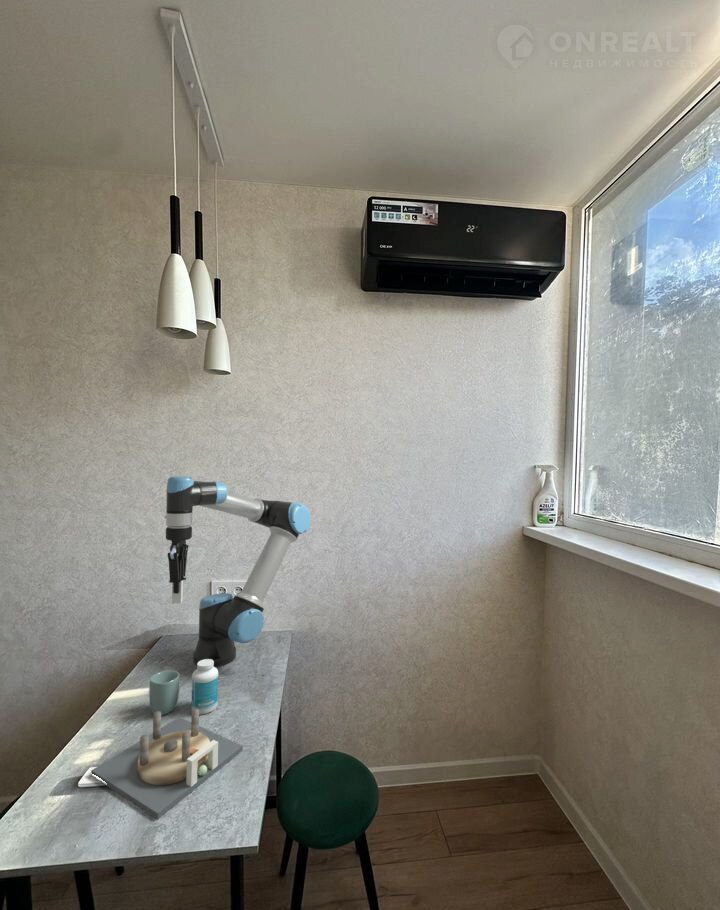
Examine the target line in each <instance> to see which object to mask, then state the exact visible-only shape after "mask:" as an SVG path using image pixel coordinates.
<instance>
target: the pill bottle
mask: <svg viewBox="0 0 720 910" xmlns="http://www.w3.org/2000/svg"><path fill="white" fill-rule="evenodd" d="M213 666H214V661H213V660H211V659H204V660H201V661H199V662H198V663H197V665H196V669H195V670H194V671H193V673H192V674H191V701H190V702H191V703H190V704H191V707H190V708H191V711H192V710H194V709H199V715H205V714H206V715H207V714H209V713H211V712H213V711H214V710H216V708H217V707H218V705H219V670H218V668H217V667H213Z"/></svg>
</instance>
